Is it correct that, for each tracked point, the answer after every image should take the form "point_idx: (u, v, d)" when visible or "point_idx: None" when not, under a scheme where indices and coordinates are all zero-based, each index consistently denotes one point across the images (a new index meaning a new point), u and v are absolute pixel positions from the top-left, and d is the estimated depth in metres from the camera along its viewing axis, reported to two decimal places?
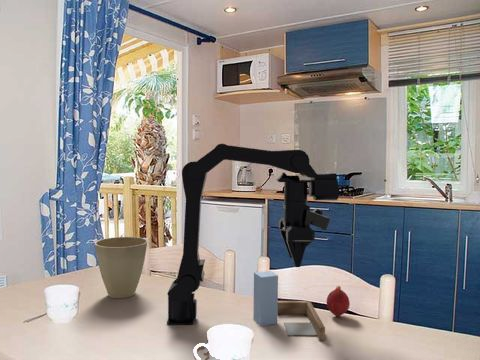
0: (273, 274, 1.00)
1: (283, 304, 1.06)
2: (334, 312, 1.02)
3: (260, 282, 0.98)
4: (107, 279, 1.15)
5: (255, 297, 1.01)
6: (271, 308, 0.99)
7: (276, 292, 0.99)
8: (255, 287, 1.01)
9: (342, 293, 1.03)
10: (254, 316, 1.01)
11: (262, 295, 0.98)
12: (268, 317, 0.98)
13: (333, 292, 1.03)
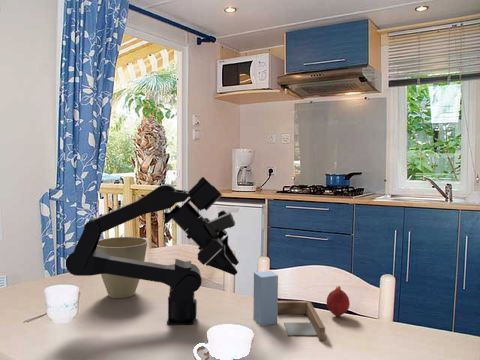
0: (273, 274, 1.00)
1: (283, 304, 1.06)
2: (334, 312, 1.02)
3: (260, 282, 0.98)
4: (107, 279, 1.15)
5: (255, 297, 1.01)
6: (271, 308, 0.99)
7: (276, 292, 0.99)
8: (255, 287, 1.01)
9: (342, 293, 1.03)
10: (254, 316, 1.01)
11: (262, 295, 0.98)
12: (268, 317, 0.98)
13: (333, 292, 1.03)
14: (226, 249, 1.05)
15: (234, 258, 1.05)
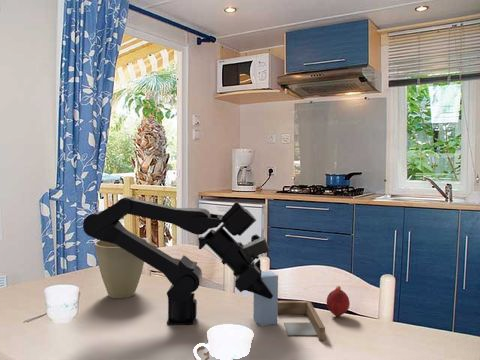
0: (273, 274, 1.00)
1: (283, 304, 1.06)
2: (334, 312, 1.02)
3: None
4: (107, 279, 1.15)
5: (255, 297, 1.01)
6: (271, 308, 0.99)
7: (276, 292, 0.99)
8: None
9: (342, 293, 1.03)
10: (254, 316, 1.01)
11: None
12: (268, 317, 0.98)
13: (333, 292, 1.03)
14: None
15: None
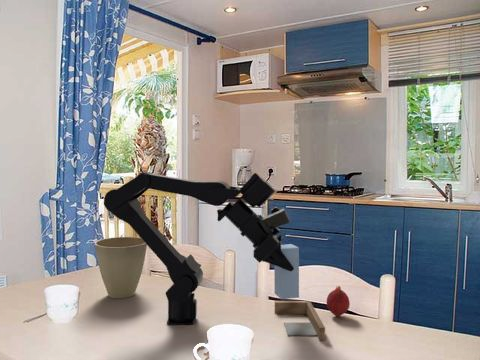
0: (294, 246, 0.97)
1: (283, 304, 1.06)
2: (334, 312, 1.02)
3: None
4: (107, 279, 1.15)
5: (276, 271, 0.98)
6: (292, 281, 0.96)
7: (297, 265, 0.96)
8: None
9: (342, 293, 1.03)
10: (275, 290, 0.99)
11: None
12: (289, 290, 0.96)
13: (333, 292, 1.03)
14: None
15: None
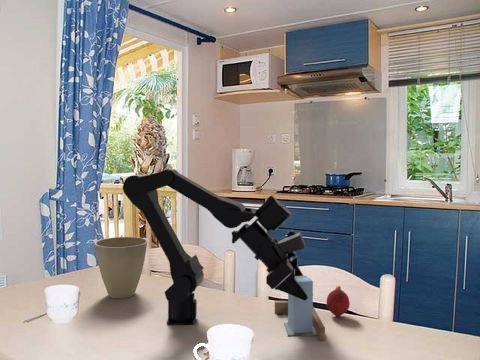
0: (308, 279, 0.94)
1: (283, 304, 1.06)
2: (334, 312, 1.02)
3: None
4: (107, 279, 1.15)
5: (289, 303, 0.96)
6: (305, 315, 0.93)
7: (311, 298, 0.93)
8: None
9: (342, 293, 1.03)
10: (288, 322, 0.97)
11: (295, 301, 0.93)
12: (302, 324, 0.93)
13: (333, 292, 1.03)
14: (295, 270, 1.00)
15: None
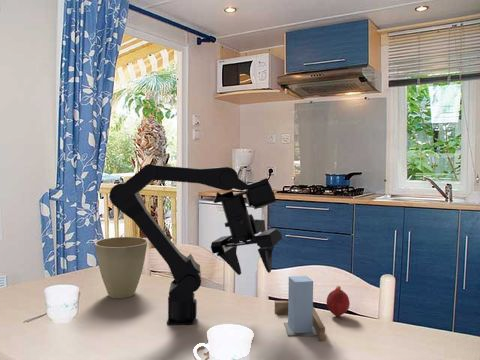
0: (308, 279, 0.94)
1: (283, 304, 1.06)
2: (334, 312, 1.02)
3: (294, 287, 0.93)
4: (107, 279, 1.15)
5: (289, 303, 0.96)
6: (305, 315, 0.93)
7: (311, 298, 0.93)
8: (289, 292, 0.96)
9: (342, 293, 1.03)
10: (288, 322, 0.97)
11: (295, 301, 0.93)
12: (302, 324, 0.93)
13: (333, 292, 1.03)
14: (235, 256, 1.05)
15: (239, 267, 1.05)
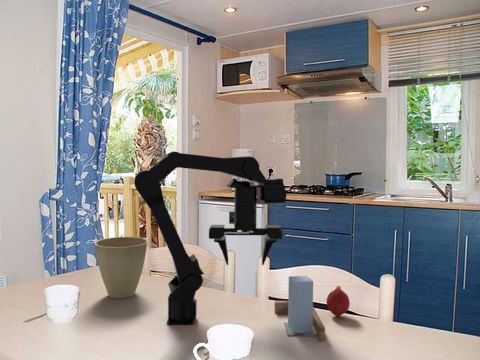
0: (308, 279, 0.94)
1: (283, 304, 1.06)
2: (334, 312, 1.02)
3: (294, 287, 0.93)
4: (107, 279, 1.15)
5: (289, 303, 0.96)
6: (305, 315, 0.93)
7: (311, 298, 0.93)
8: (289, 292, 0.96)
9: (342, 293, 1.03)
10: (288, 322, 0.97)
11: (295, 301, 0.93)
12: (302, 324, 0.93)
13: (333, 292, 1.03)
14: (226, 246, 1.05)
15: None
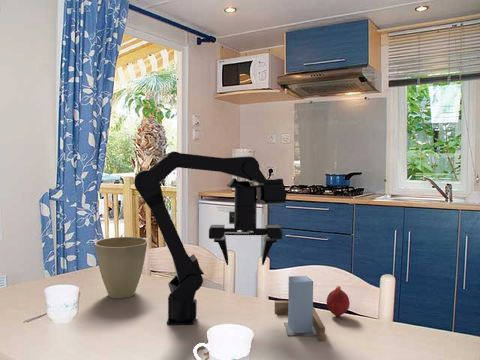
0: (308, 279, 0.94)
1: (283, 304, 1.06)
2: (334, 312, 1.02)
3: (294, 287, 0.93)
4: (107, 279, 1.15)
5: (289, 303, 0.96)
6: (305, 315, 0.93)
7: (311, 298, 0.93)
8: (289, 292, 0.96)
9: (342, 293, 1.03)
10: (288, 322, 0.97)
11: (295, 301, 0.93)
12: (302, 324, 0.93)
13: (333, 292, 1.03)
14: (226, 246, 1.05)
15: None
